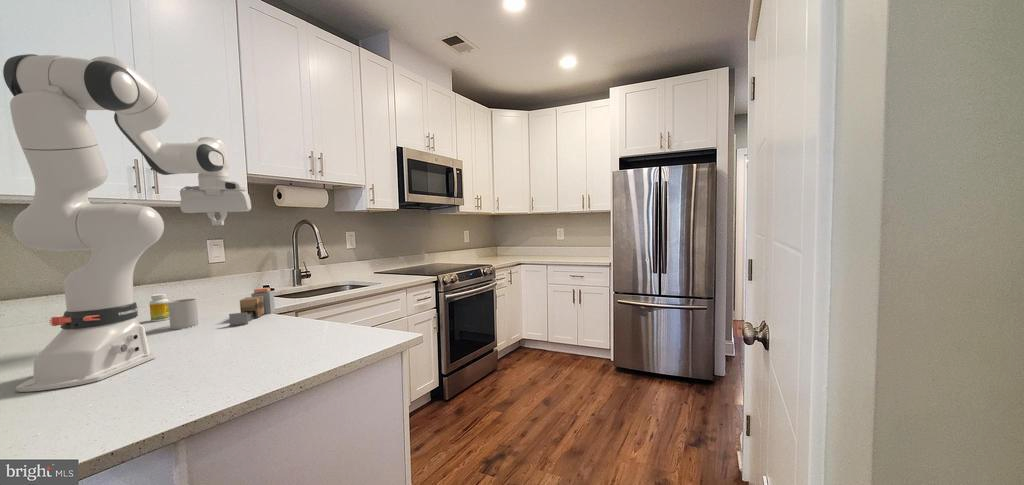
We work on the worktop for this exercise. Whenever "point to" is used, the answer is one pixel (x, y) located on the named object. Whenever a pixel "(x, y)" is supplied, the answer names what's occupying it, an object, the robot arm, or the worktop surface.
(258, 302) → the carriage
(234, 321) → the rail
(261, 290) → the plunger
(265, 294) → the gauge cabinet
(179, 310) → the cup
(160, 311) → the supplement bottle
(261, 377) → the worktop surface
